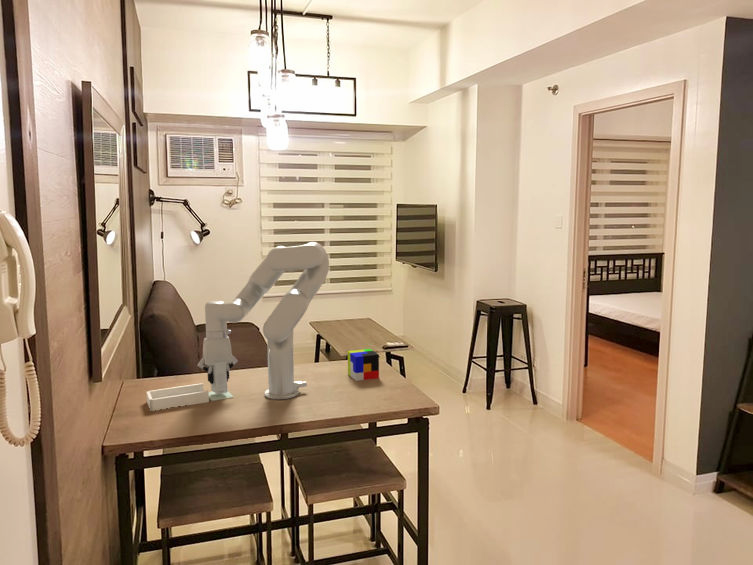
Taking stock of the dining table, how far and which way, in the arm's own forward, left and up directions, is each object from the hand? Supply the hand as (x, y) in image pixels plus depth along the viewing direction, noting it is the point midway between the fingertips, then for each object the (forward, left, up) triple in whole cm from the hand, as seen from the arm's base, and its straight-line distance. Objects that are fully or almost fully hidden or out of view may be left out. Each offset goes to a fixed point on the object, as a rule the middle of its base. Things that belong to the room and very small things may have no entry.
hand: (218, 381), depth 221 cm
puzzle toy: (-58, +4, -6) cm, 58 cm away
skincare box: (0, 0, -4) cm, 4 cm away
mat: (0, 0, -5) cm, 5 cm away
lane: (+15, 0, -5) cm, 16 cm away
